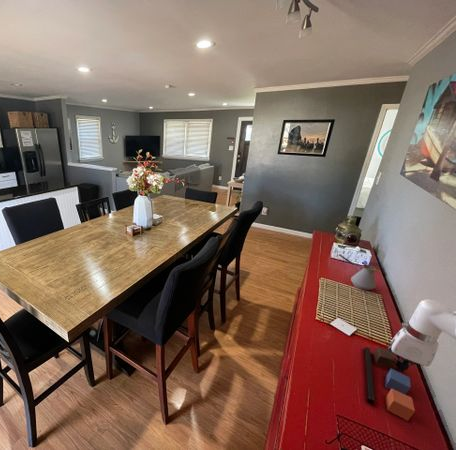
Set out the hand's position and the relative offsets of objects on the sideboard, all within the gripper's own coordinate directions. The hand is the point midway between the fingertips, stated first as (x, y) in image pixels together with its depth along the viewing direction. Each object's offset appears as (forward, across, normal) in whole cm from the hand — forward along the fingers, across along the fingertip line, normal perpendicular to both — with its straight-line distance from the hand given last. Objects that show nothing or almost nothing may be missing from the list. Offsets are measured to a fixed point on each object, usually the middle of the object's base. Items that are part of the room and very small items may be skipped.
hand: (399, 368), depth 91 cm
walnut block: (+1, -5, 0) cm, 5 cm away
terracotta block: (+1, -3, -20) cm, 20 cm away
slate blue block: (+1, -2, -10) cm, 10 cm away
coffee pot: (+1, -15, +60) cm, 62 cm away
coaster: (+1, -18, +14) cm, 22 cm away
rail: (+1, -10, -10) cm, 14 cm away
